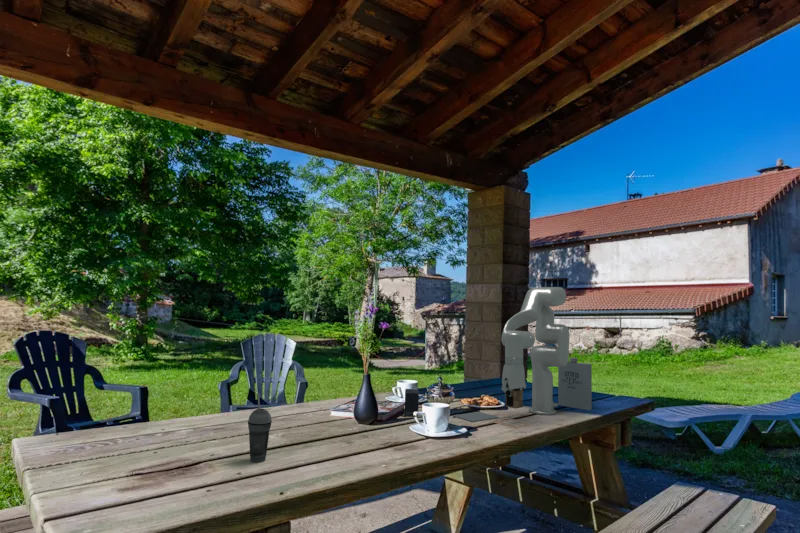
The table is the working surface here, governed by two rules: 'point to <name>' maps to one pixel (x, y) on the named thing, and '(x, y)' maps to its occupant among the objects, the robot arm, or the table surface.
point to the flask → (575, 385)
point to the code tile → (513, 423)
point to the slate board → (475, 416)
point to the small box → (411, 401)
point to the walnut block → (517, 398)
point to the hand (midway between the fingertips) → (514, 404)
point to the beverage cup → (259, 433)
